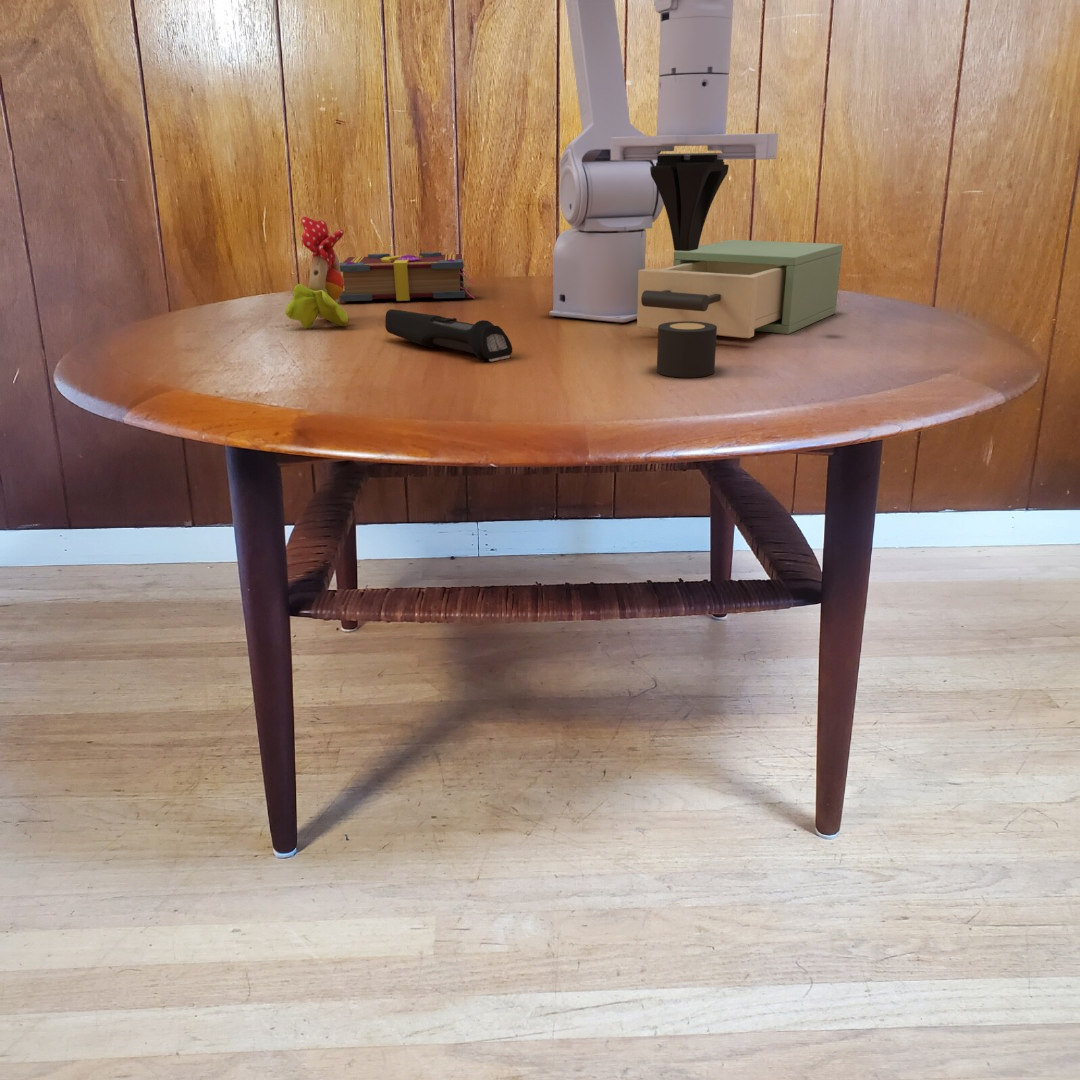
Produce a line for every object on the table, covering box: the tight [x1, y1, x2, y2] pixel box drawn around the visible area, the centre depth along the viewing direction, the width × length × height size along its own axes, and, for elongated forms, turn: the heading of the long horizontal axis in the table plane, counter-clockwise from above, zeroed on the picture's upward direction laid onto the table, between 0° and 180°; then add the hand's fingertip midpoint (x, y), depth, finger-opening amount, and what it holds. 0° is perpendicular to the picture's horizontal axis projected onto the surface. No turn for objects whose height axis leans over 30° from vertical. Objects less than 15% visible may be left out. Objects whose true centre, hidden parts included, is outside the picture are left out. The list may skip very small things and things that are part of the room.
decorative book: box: [339, 251, 476, 303], centre depth 115 cm, size 11×16×5 cm
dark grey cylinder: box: [656, 321, 717, 379], centre depth 73 cm, size 5×5×4 cm
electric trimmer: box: [384, 308, 513, 362], centre depth 84 cm, size 4×16×3 cm, turn 45°
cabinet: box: [672, 239, 844, 335], centre depth 95 cm, size 14×13×7 cm
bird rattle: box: [284, 216, 349, 329], centre depth 96 cm, size 6×11×9 cm
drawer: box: [636, 261, 787, 339], centre depth 87 cm, size 17×11×5 cm
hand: (686, 249), depth 80 cm, fingers closed
